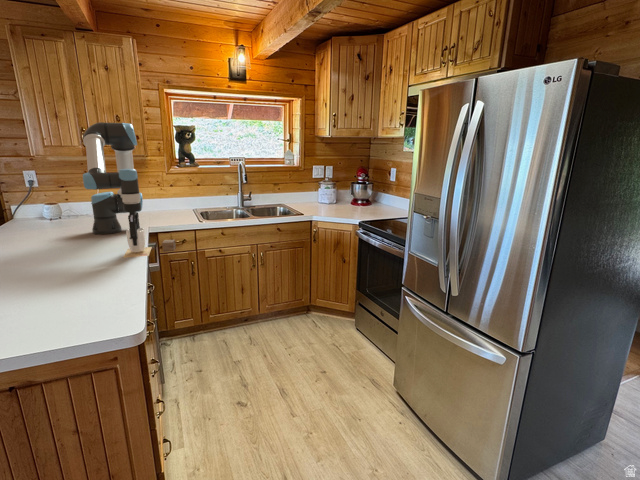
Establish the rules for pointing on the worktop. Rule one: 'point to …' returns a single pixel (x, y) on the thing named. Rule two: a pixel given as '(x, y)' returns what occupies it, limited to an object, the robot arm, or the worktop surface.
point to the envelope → (137, 253)
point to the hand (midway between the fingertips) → (137, 249)
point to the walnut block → (168, 245)
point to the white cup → (140, 238)
